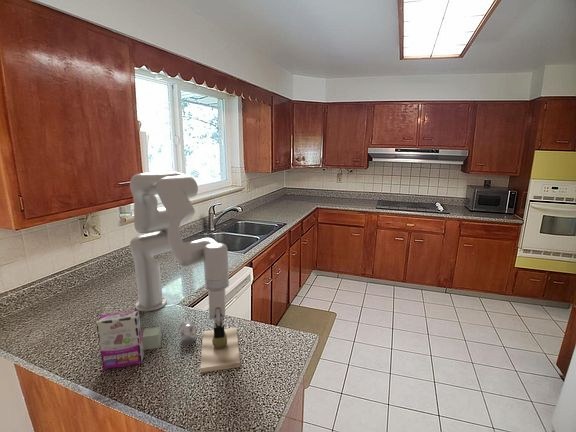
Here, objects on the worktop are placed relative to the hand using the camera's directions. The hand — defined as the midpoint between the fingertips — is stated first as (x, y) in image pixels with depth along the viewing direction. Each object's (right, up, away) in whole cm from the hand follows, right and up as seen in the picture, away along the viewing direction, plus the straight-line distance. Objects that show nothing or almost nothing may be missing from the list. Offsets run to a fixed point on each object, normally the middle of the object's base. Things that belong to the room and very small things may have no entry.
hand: (219, 328), depth 104 cm
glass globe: (-12, -6, +7) cm, 16 cm away
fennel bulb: (0, -6, +1) cm, 7 cm away
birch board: (0, -8, +2) cm, 8 cm away
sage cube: (-24, -7, +4) cm, 26 cm away
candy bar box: (-29, -9, -5) cm, 31 cm away
